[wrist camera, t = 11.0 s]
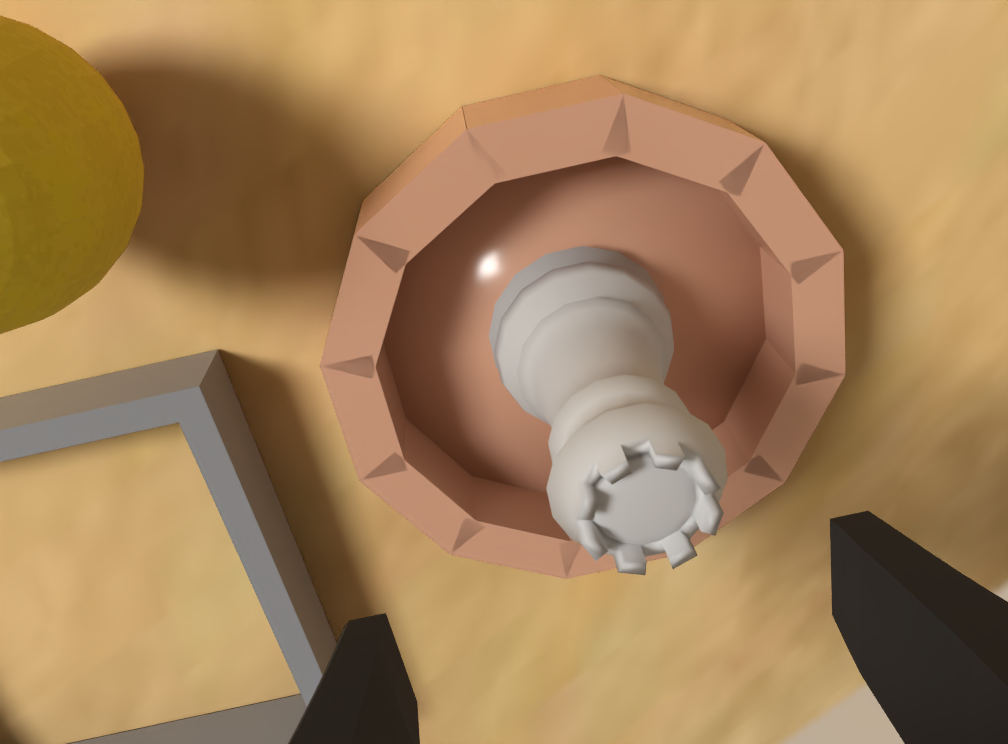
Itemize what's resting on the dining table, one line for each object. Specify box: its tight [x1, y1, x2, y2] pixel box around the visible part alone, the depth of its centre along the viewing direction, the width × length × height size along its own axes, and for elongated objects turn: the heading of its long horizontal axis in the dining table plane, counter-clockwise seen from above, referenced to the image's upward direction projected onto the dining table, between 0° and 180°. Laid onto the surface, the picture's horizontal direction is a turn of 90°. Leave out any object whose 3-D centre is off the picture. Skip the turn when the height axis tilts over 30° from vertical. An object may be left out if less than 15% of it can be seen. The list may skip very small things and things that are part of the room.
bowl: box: [320, 75, 845, 579], centre depth 21 cm, size 12×12×3 cm
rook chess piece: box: [489, 246, 728, 575], centre depth 18 cm, size 4×4×8 cm
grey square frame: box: [0, 350, 337, 744], centre depth 24 cm, size 13×13×2 cm
